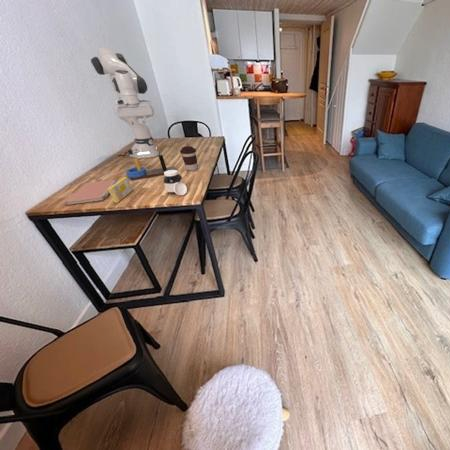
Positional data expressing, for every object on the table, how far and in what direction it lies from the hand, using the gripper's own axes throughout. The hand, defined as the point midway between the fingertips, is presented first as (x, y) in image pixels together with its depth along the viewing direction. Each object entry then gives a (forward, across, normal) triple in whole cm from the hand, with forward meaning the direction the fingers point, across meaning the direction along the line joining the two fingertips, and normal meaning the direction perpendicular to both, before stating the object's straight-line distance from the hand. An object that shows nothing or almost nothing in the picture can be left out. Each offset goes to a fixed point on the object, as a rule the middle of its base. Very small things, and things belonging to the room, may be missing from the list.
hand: (138, 123), depth 163 cm
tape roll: (+28, +10, +18) cm, 34 cm away
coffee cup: (+29, -23, +21) cm, 43 cm away
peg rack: (+29, +1, +18) cm, 34 cm away
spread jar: (+29, -8, +59) cm, 66 cm away
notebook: (+29, +32, +33) cm, 55 cm away
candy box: (+29, +18, +48) cm, 59 cm away
